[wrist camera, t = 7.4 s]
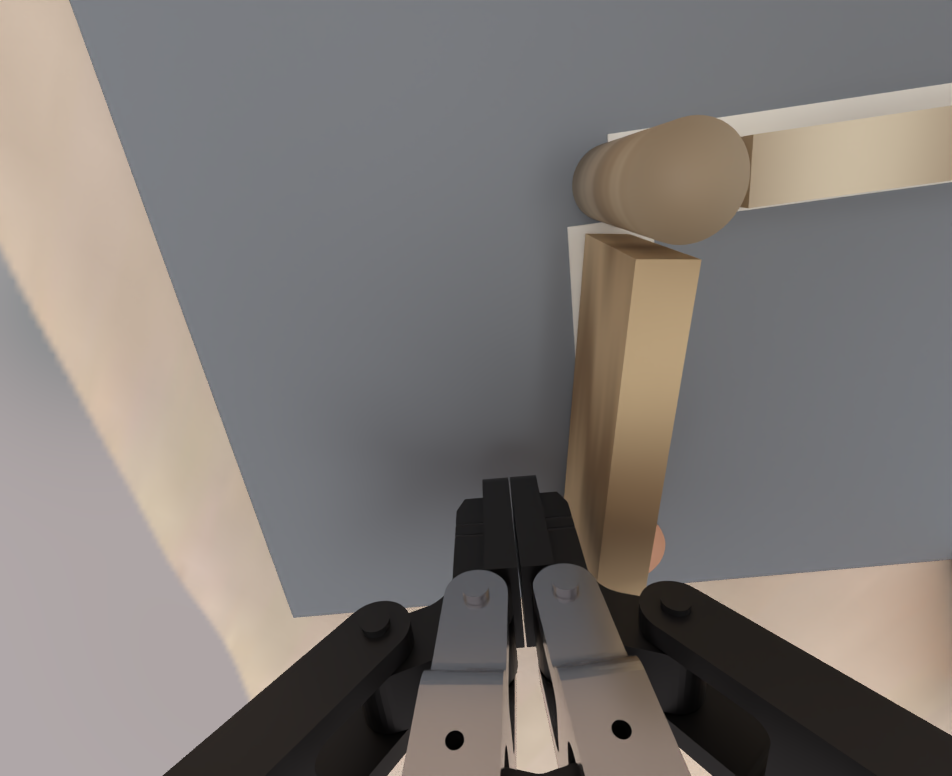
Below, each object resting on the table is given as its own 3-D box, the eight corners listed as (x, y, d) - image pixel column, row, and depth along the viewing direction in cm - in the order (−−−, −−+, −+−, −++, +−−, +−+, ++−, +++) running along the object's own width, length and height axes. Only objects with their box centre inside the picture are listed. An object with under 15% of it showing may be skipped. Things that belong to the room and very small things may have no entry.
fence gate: (574, 233, 14) (622, 261, 9) (639, 233, 14) (723, 260, 9) (551, 549, 18) (575, 683, 13) (601, 549, 18) (644, 684, 13)
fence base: (1099, 69, 12) (1561, -16, 7) (1073, 157, 13) (1475, 139, 8) (569, 148, 13) (626, 124, 8) (574, 226, 14) (628, 252, 9)
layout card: (1203, -228, 11) (1237, -247, 10) (970, 549, 19) (983, 559, 18) (71, -21, 12) (55, -29, 12) (297, 609, 20) (292, 620, 20)
